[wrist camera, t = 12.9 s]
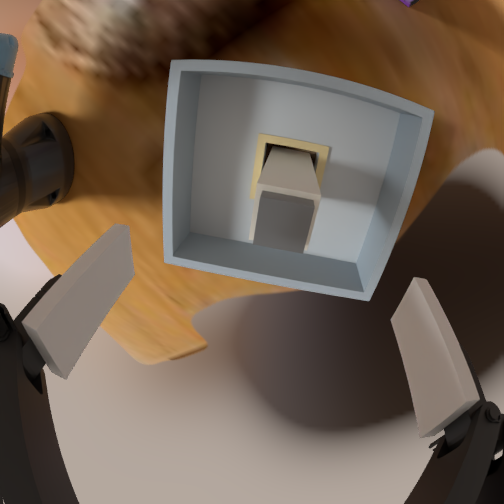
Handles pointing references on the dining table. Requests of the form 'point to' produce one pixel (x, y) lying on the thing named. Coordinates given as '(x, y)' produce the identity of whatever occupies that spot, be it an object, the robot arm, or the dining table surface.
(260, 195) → the connector
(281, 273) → the walled box
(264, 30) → the dining table surface
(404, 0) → the candy box
